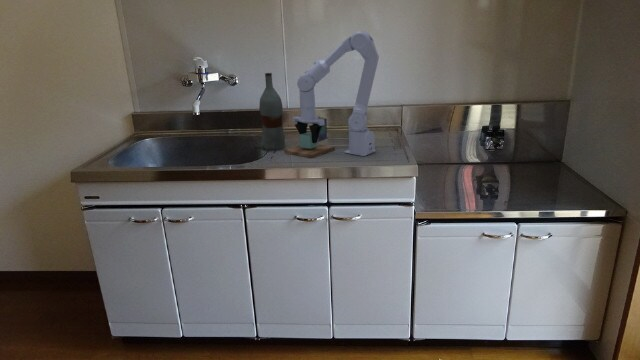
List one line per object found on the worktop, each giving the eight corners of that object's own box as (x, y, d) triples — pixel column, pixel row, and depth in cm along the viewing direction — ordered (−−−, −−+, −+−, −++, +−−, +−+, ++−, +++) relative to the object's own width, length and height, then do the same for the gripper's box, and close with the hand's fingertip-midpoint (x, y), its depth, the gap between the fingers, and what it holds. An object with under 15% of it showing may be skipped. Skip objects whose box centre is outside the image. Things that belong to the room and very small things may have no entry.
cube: (318, 145, 173) (317, 133, 172) (310, 148, 169) (309, 135, 168) (308, 144, 176) (307, 132, 175) (300, 147, 172) (299, 134, 171)
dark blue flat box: (316, 142, 187) (315, 117, 184) (311, 141, 189) (309, 117, 185) (328, 137, 194) (327, 113, 191) (323, 137, 196) (322, 113, 192)
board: (334, 149, 174) (334, 146, 174) (311, 158, 164) (311, 154, 164) (308, 145, 183) (308, 142, 183) (284, 153, 173) (284, 149, 173)
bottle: (260, 150, 178) (254, 74, 168) (264, 144, 187) (258, 72, 177) (283, 150, 177) (278, 73, 168) (286, 144, 186) (281, 71, 176)
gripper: (286, 107, 170) (288, 141, 174) (315, 110, 161) (316, 146, 165) (299, 104, 175) (300, 137, 179) (327, 107, 166) (328, 142, 170)
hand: (309, 141), depth 172 cm, fingers closed on cube, 5 cm apart
